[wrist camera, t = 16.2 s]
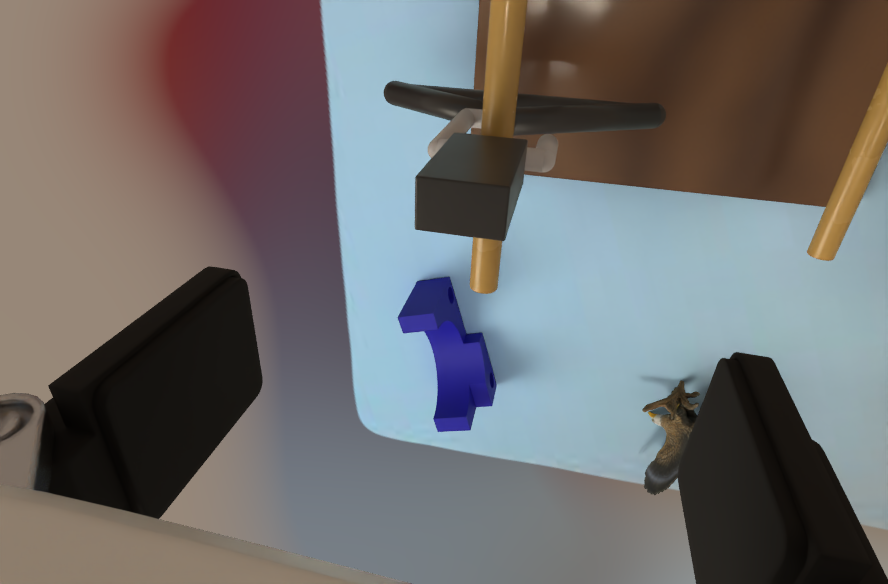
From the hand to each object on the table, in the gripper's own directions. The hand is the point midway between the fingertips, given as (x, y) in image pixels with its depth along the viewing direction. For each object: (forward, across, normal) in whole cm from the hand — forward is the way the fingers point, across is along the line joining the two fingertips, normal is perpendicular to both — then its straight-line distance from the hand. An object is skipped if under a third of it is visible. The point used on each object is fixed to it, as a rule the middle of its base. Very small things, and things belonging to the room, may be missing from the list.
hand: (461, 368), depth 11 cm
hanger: (+21, +1, -1) cm, 21 cm away
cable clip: (+32, +5, +22) cm, 39 cm away
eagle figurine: (+32, -15, +27) cm, 44 cm away
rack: (+32, -8, -1) cm, 33 cm away
